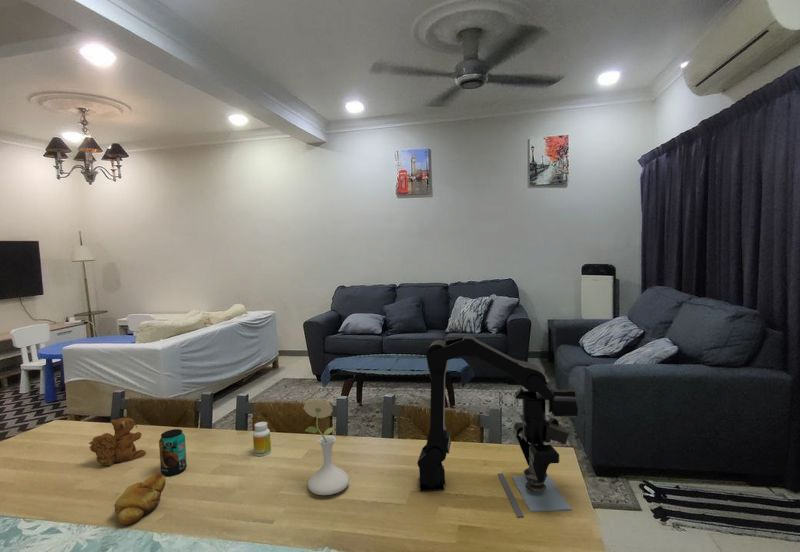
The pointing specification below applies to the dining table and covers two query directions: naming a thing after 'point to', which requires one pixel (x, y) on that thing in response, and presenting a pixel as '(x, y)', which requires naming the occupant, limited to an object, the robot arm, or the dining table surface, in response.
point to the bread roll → (139, 499)
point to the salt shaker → (533, 479)
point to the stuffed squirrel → (117, 443)
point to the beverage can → (172, 452)
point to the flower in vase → (325, 454)
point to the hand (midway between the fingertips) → (535, 473)
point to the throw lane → (535, 496)
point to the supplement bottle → (261, 439)
